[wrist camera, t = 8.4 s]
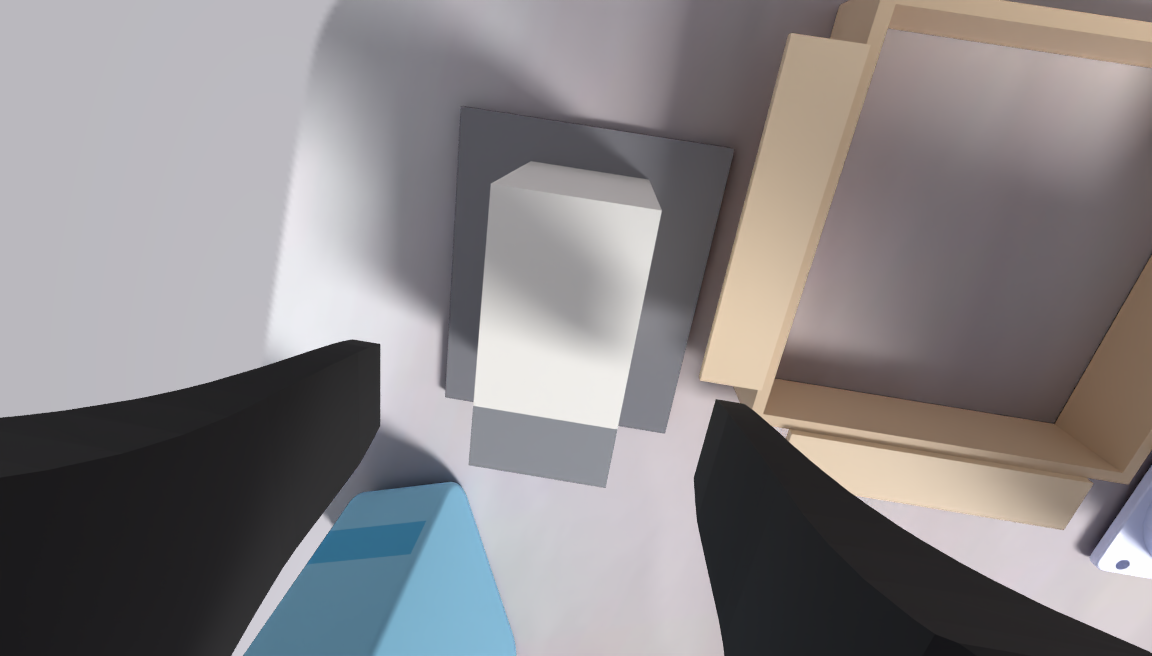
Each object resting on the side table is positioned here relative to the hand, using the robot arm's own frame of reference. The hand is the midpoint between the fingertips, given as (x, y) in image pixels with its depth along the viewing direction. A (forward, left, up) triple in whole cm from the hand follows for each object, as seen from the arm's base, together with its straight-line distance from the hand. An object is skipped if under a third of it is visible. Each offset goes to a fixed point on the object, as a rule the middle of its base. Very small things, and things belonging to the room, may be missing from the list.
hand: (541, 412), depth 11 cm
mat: (0, 0, -9) cm, 9 cm away
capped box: (0, 0, -9) cm, 9 cm away
